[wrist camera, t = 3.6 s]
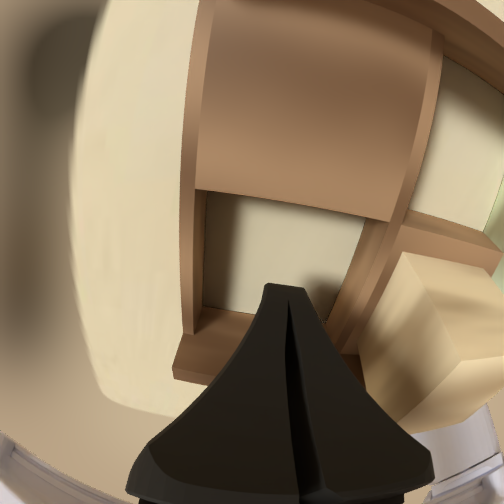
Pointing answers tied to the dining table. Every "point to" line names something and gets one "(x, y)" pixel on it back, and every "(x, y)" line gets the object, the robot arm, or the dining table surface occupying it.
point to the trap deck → (325, 142)
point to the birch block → (434, 343)
